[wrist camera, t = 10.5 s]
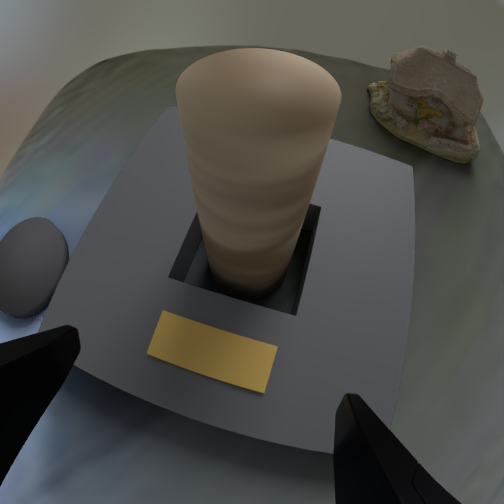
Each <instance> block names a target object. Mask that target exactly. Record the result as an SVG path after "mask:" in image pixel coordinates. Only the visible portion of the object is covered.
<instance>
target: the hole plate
mask: <svg viewBox="0 0 504 504" xmlns="http://www.w3.org/2000/svg"><path fill="white" fill-rule="evenodd" d="M301 229H305V230H308V231H312V233H311V237H310V242H309V246H308V250H307V254H306V259H305V263H304V267H303V271H302V275H301V279H300V283H299V287H298V291H297V295H296V299H295V303H294V307H293V311H292V314H287V313H283V312H280V311H276V310H273V309H269V308H266V307H262V306H259V305H255V304H252V303H248V302H245V301H242V300H238V299H235V298H232V297H228V296H225V295H222V294H219V293H215V292H212V291H209V290H206V289H202V288H199V287H196V286H193V285H190V284H187V283H184V279H185V277H186V275H187V272H188V270H189V267H190V265H191V262H192V260H193V257H194V255H195V253H196V250H197V248H198V245H199V243H200V241H201V238H202V231H201V227H200V222H199V217H198V212H197V207H196V202H195V197H194V192H193V187H192V182H191V177H190V172H189V166H188V161H187V156H186V150H185V145H184V139H183V133H182V127H181V122H180V116H179V110H178V107H171V106H168V107H167V109H166V110H165V111H164V112H163V114H162V115H161V116H160V117H159V119H158V120H157V121H156V123H155V124H154V125H153V127H152V128H151V129H150V131H149V132H148V133H147V135H146V136H145V137H144V139H143V140H142V141H141V143H140V144H139V146H138V147H137V148H136V150H135V151H134V153H133V154H132V156H131V157H130V158H129V160H128V161H127V163H126V164H125V166H124V167H123V169H122V170H121V172H120V173H119V175H118V176H117V178H116V180H115V181H114V183H113V184H112V186H111V187H110V189H109V191H108V192H107V194H106V195H105V197H104V199H103V200H102V202H101V204H100V205H99V207H98V209H97V210H96V212H95V214H94V216H93V217H92V219H91V221H90V223H89V224H88V226H87V228H86V230H85V232H84V233H83V235H82V237H81V239H80V241H79V243H78V245H77V247H76V249H75V250H74V252H73V254H72V256H71V258H70V260H69V262H68V264H67V266H66V269H65V271H64V273H63V275H62V277H61V279H60V281H59V283H58V286H57V288H56V290H55V292H54V295H53V297H52V299H51V301H50V304H49V306H48V309H47V311H46V313H45V316H44V318H43V321H42V323H41V326H40V329H39V331H38V333H39V332H43V331H46V330H50V329H53V328H57V327H60V326H64V325H71V326H73V327H76V328H77V329H78V332H79V338H80V344H81V350H80V353H79V355H78V357H77V359H76V361H75V362H74V364H73V365H75V366H77V367H78V368H80V369H82V370H84V371H86V372H88V373H89V374H91V375H93V376H95V377H97V378H99V379H101V380H103V381H105V382H107V383H109V384H111V385H113V386H115V387H117V388H119V389H121V390H123V391H125V392H128V393H130V394H132V395H134V396H136V397H139V398H141V399H143V400H146V401H148V402H150V403H153V404H155V405H157V406H160V407H162V408H165V409H167V410H170V411H173V412H175V413H178V414H180V415H183V416H186V417H189V418H191V419H194V420H197V421H200V422H203V423H206V424H209V425H212V426H215V427H218V428H222V429H225V430H228V431H232V432H235V433H238V434H242V435H246V436H249V437H253V438H257V439H261V440H265V441H269V442H273V443H278V444H282V445H287V446H292V447H297V448H302V449H307V450H313V451H319V452H325V453H332V454H333V450H334V432H335V414H336V411H337V408H338V406H339V404H340V402H341V400H342V398H343V396H344V395H345V394H346V393H355V394H359V395H360V396H361V398H362V399H363V400H364V401H365V402H366V403H367V404H368V406H369V407H370V408H371V409H372V410H373V411H374V412H375V414H376V415H377V416H378V417H379V418H380V419H381V420H382V422H383V423H384V424H385V425H386V426H387V427H388V428H389V430H390V428H391V424H392V420H393V416H394V412H395V407H396V403H397V398H398V394H399V389H400V384H401V378H402V373H403V367H404V361H405V355H406V349H407V342H408V334H409V326H410V317H411V307H412V296H413V282H414V263H415V198H414V179H413V166H410V165H407V164H405V163H402V162H399V161H397V160H394V159H391V158H388V157H386V156H383V155H380V154H377V153H374V152H371V151H368V150H365V149H362V148H359V147H356V146H353V145H349V144H346V143H343V142H340V141H336V140H333V139H330V140H329V143H328V146H327V150H326V153H325V156H324V159H323V163H322V166H321V169H320V172H319V176H318V179H317V182H316V185H315V188H314V191H313V194H312V198H311V201H310V204H309V207H308V210H307V213H306V216H305V219H304V222H303V225H302V228H301Z"/></svg>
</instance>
